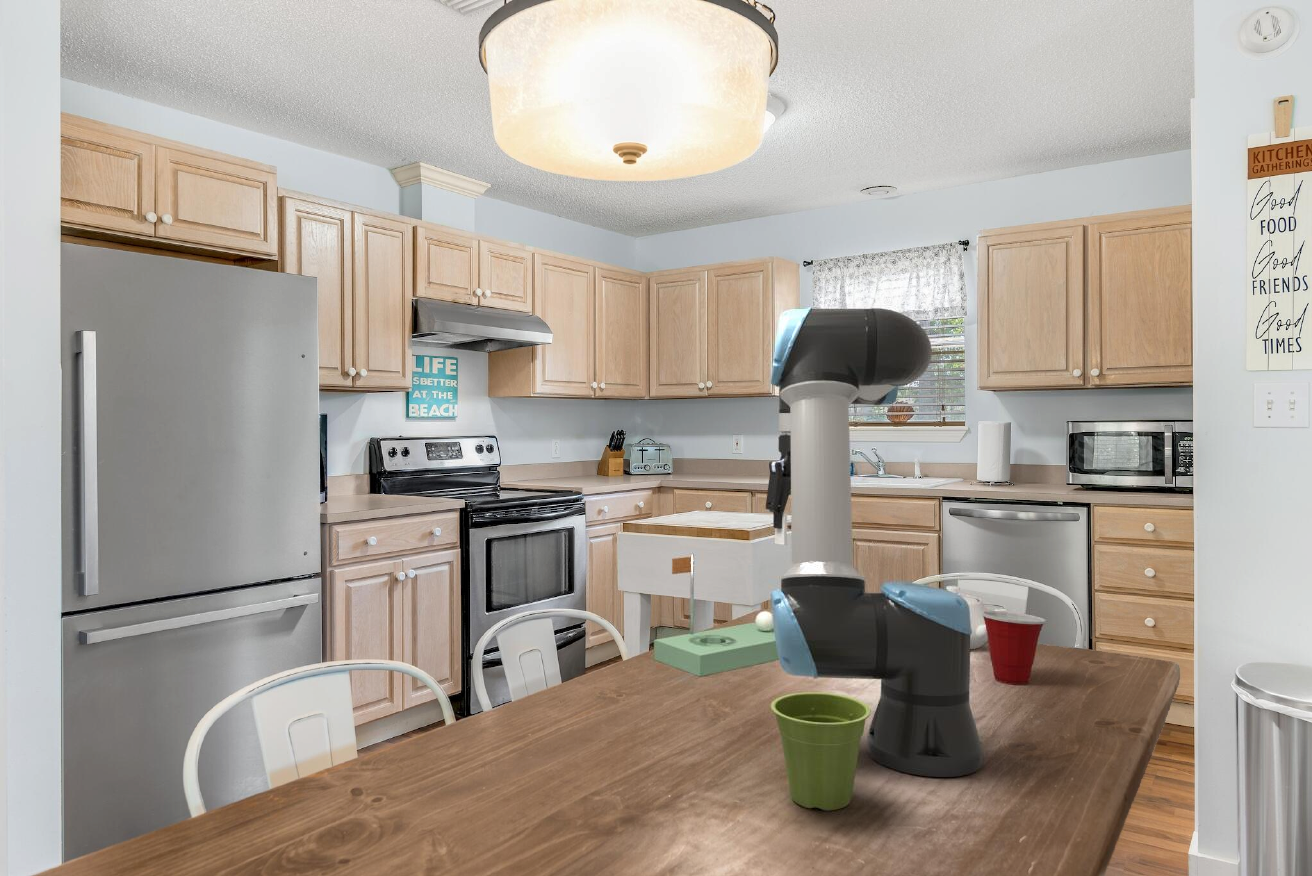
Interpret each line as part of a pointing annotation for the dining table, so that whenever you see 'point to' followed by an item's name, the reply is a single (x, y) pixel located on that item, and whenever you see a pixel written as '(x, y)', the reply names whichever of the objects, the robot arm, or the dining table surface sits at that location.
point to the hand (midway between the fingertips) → (795, 542)
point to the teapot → (975, 618)
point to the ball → (764, 621)
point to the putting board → (717, 649)
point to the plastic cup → (1012, 644)
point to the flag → (688, 566)
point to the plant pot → (820, 746)
